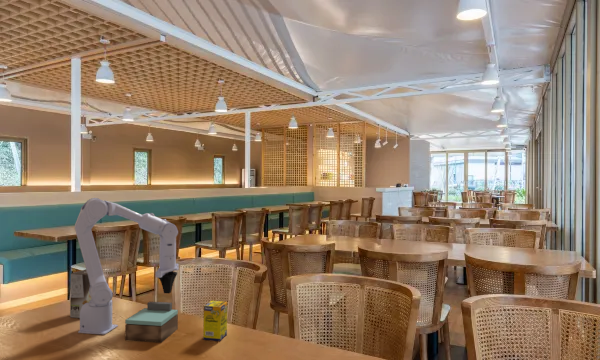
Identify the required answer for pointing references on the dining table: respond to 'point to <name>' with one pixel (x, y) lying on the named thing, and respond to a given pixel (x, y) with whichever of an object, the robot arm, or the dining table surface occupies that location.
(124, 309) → the dining table surface
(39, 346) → the dining table surface
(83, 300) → the coffee box
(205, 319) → the supplement box
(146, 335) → the crate
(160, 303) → the lid
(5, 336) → the dining table surface
